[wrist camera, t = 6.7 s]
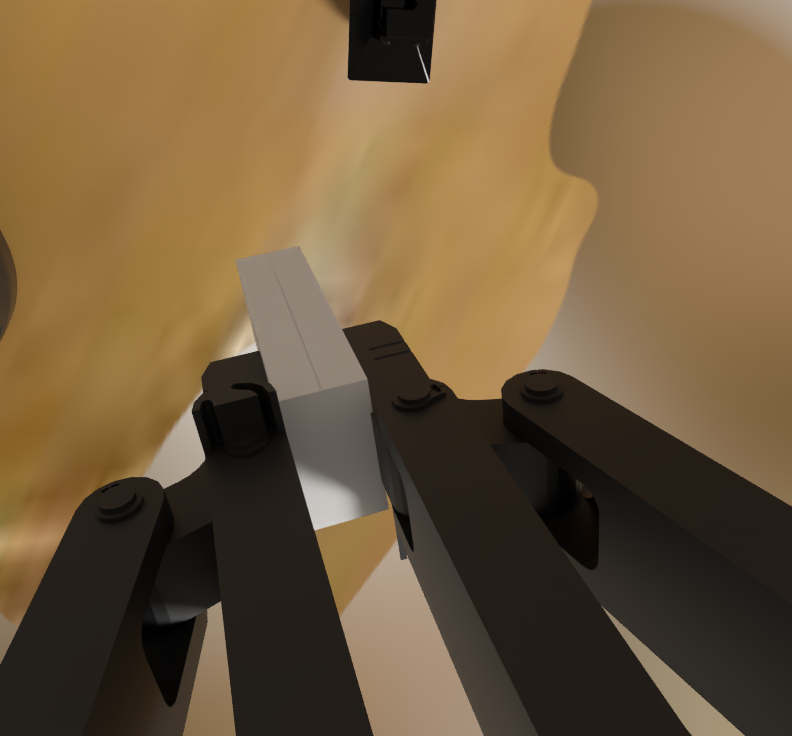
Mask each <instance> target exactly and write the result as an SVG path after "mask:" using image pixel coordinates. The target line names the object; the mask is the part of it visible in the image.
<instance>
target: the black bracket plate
mask: <svg viewBox="0 0 792 736" xmlns="http://www.w3.org/2000/svg"><path fill="white" fill-rule="evenodd" d="M435 10H436V0H350V21H349V54H348V79H349V80H359V81H382V82H406V83H428V82H429V80H430V69H431V57H432V46H433V34H434V22H435Z"/></svg>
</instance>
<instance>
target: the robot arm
mask: <svg viewBox="0 0 792 736" xmlns="http://www.w3.org/2000/svg"><path fill="white" fill-rule="evenodd" d="M236 264H237V268H238V272H239V276H240V280H241V284H242V288H243V292H244V296H245V301H246V305H247V309H248V313H249V317H250V321H251V325H252V329H253V333H254V337H255V341H256V345H257V349H258V351H256V352H252V353H248V354H244V355H239V356H235V357H231V358H227V359H222V360H218V361H214V362H210V364H209V365H208V367H207V369H206V370H205V372H204V374H203V375H202V377H201V378H202V387H203V394H202V395H201V396H200V397H199V398H198V399H197V400H196V401H195V402H194V405H193V408H192V414H193V418H194V421H195V424H196V427H197V430H198V433H199V437H200V440H201V443H202V447H203V450H204V453H205V461H204V462H203V463H202V465H201V466H200V467H199V468H198V469H197V470H196V471H194V472H193V473H192V474H191V475H190V476H188V477H186V478H184V479H182V480H181V481H179V482H178V483H175V484H173V485H171V486H169V487H167V488H165V489H163V488H162V486H161V485H160V484H159V482H158V481H155V480H153V479H150V478H147V477H130V478H126V479H122V480H117V481H114V482H112V483H109V484H107V485H105V486H103V487H101V488H99V489H97V490H96V491H95V492H93V493H92V494H91V495H89V496H88V497H87V498H85V499H84V500H83V502H82V503H81V504H80V506H79V507H78V508H77V510H76V511H75V513H74V515H73V517H72V519H71V521H70V523H69V525H68V527H67V530H66V532H65V534H64V536H63V538H62V540H61V542H60V544H59V546H58V548H57V550H56V552H55V554H54V556H53V558H52V560H51V562H50V564H49V566H48V568H47V570H46V572H45V574H44V577H43V579H42V581H41V583H40V585H39V587H38V589H37V591H36V593H35V595H34V597H33V599H32V601H31V603H30V605H29V607H28V609H27V611H26V613H25V615H24V617H23V619H22V621H21V624H20V626H19V628H18V630H17V632H16V634H15V636H14V638H13V640H12V642H11V644H10V646H9V648H8V650H7V652H6V654H5V656H4V659H3V660H2V663H1V664H0V736H183V732H184V727H185V722H186V718H187V713H188V708H189V704H190V699H191V695H192V690H193V686H194V681H195V677H196V672H197V668H198V663H199V658H200V654H201V649H202V645H203V640H204V636H205V631H206V627H207V622H208V621H207V609H208V608H210V607H211V606H213V605H215V604H216V603H218V602H220V601H221V604H222V613H223V622H224V631H225V640H226V649H227V658H228V667H229V676H230V685H231V694H232V704H233V713H234V721H235V731H236V736H373V733H372V729H371V726H370V722H369V719H368V715H367V712H366V708H365V705H364V701H363V698H362V694H361V691H360V688H359V684H358V680H357V677H356V673H355V670H354V667H353V663H352V660H351V656H350V653H349V649H348V646H347V642H346V639H345V635H344V632H343V629H342V625H341V622H340V618H339V614H338V611H337V608H336V604H335V601H334V597H333V594H332V590H331V587H330V583H329V580H328V576H327V573H326V569H325V566H324V562H323V559H322V555H321V552H320V549H319V545H318V542H317V538H316V535H315V531H314V530H317V529H321V528H324V527H328V526H331V525H335V524H338V523H342V522H345V521H349V520H352V519H356V518H359V517H363V516H366V515H370V514H373V513H377V512H380V511H384V510H387V509H389V508H388V502H387V496H386V492H387V494H388V496H389V499H390V501H391V503H392V507H393V514H394V520H395V526H396V532H397V539H398V545H399V551H400V558H401V560H403V559H407V555H408V558H409V560H410V563H411V565H412V567H413V569H414V572H415V574H416V577H417V579H418V581H419V584H420V586H421V588H422V591H423V593H424V596H425V598H426V600H427V603H428V605H429V607H430V610H431V612H432V614H433V617H434V619H435V621H436V624H437V626H438V629H439V631H440V633H441V636H442V638H443V640H444V643H445V645H446V647H447V650H448V652H449V654H450V657H451V659H452V661H453V664H454V666H455V669H456V671H457V673H458V676H459V678H460V680H461V683H462V685H463V688H464V690H465V692H466V695H467V697H468V699H469V702H470V704H471V706H472V709H473V711H474V713H475V716H476V718H477V720H478V723H479V725H480V728H481V730H482V732H483V735H484V736H692V735H691V734H690V733H689V732H688V730H687V729H686V728H685V727H684V725H683V724H682V722H681V721H680V719H679V718H678V717H677V715H676V714H675V712H674V711H673V709H672V708H671V706H670V705H669V703H668V702H667V701H666V699H665V698H664V696H663V695H662V694H661V692H660V690H659V689H658V687H657V686H656V685H655V683H654V682H653V680H652V679H651V678H650V676H649V675H648V673H647V672H646V671H645V669H644V667H643V666H642V664H641V663H640V661H639V660H638V659H637V657H636V656H635V654H634V653H633V652H632V650H631V648H630V647H629V646H628V644H627V643H626V641H625V640H624V638H623V637H622V635H621V634H620V632H619V631H618V630H617V628H616V627H615V625H614V624H613V622H612V621H611V619H610V618H609V617H608V615H607V614H606V613H605V611H604V609H603V608H602V606H603V607H604V608H605V609H606V610H607V611H608V612H609V613H610V614H611V615H612V616H614V617H615V618H616V619H617V620H618V621H619V622H620V623H621V624H623V626H625V627H626V628H627V629H628V630H629V631H630V632H631V633H632V634H633V635H634V636H636V637H637V638H638V639H639V640H640V641H641V642H642V643H643V644H645V646H647V647H648V648H649V649H650V650H651V651H652V652H653V653H654V654H655V655H657V656H658V657H659V658H660V659H661V660H662V661H663V662H665V664H666V665H668V666H669V667H670V668H671V669H672V670H673V671H674V672H675V673H676V674H678V675H679V676H680V677H681V678H682V679H683V680H684V681H685V682H686V683H688V684H689V685H690V686H691V687H692V688H693V689H694V690H695V691H696V692H697V693H698V694H700V695H701V696H702V697H703V698H704V699H705V700H706V701H707V702H708V703H710V704H711V705H712V706H713V707H714V708H715V709H716V710H718V712H720V713H721V714H722V715H723V716H724V717H725V718H726V719H727V720H728V721H729V722H731V723H732V724H733V725H734V726H735V727H736V728H737V729H738V730H739V731H740V732H742V733H743V734H744V735H745V736H792V506H790V505H788V504H787V503H785V502H783V501H782V500H780V499H778V498H776V497H775V496H773V495H772V494H770V493H768V492H766V491H765V490H763V489H761V488H760V487H758V486H756V485H755V484H753V483H751V482H749V481H748V480H746V479H744V478H743V477H741V476H739V475H738V474H736V473H734V472H733V471H731V470H729V469H727V468H726V467H724V466H722V465H721V464H719V463H717V462H716V461H714V460H712V459H711V458H709V457H707V456H705V455H704V454H702V453H700V452H699V451H697V450H695V449H694V448H692V447H690V446H689V445H687V444H685V443H684V442H682V441H680V440H679V439H677V438H675V437H674V436H672V435H670V434H669V433H667V432H665V431H663V430H662V429H660V428H658V427H657V426H655V425H653V424H652V423H650V422H648V421H647V420H645V419H643V418H642V417H640V416H638V415H636V414H635V413H633V412H631V411H630V410H628V409H626V408H625V407H623V406H621V405H620V404H618V403H616V402H615V401H613V400H611V399H609V398H608V397H606V396H604V395H603V394H601V393H599V392H598V391H596V390H594V389H592V388H591V387H589V386H587V385H586V384H584V383H582V382H581V381H579V380H577V379H576V378H574V377H572V376H570V375H567V374H565V373H562V372H559V371H552V370H543V369H542V370H531V371H527V372H524V373H520V374H517V375H515V376H513V377H512V378H510V379H509V380H507V381H506V382H505V384H504V385H503V387H502V388H501V393H502V399H490V400H464V399H458V398H457V397H456V395H455V394H454V392H453V391H452V390H451V389H450V388H449V387H448V386H447V385H445V384H444V383H442V382H439V381H436V380H433V379H430V378H429V377H428V375H427V374H426V372H425V371H424V369H423V368H422V366H421V365H420V363H419V362H418V360H417V359H416V357H415V356H414V354H413V353H412V352H411V350H410V348H409V347H408V345H407V344H406V342H404V339H403V338H402V336H401V335H400V333H399V332H398V330H397V329H396V328H395V327H393V326H391V325H389V324H387V323H384V322H382V321H380V320H379V321H374V322H370V323H366V324H362V325H358V326H353V327H349V328H345V329H341V327H340V325H339V323H338V321H337V319H336V317H335V315H334V313H333V311H332V309H331V307H330V305H329V303H328V301H327V299H326V297H325V295H324V294H323V292H322V290H321V288H320V286H319V284H318V282H317V280H316V278H315V276H314V274H313V272H312V270H311V268H310V266H309V264H308V262H307V260H306V258H305V257H304V255H303V253H302V251H301V249H300V247H299V246H298V247H293V248H288V249H284V250H279V251H274V252H270V253H265V254H260V255H256V256H251V257H246V258H242V259H237V260H236ZM16 296H17V278H16V270H15V265H14V261H13V258H12V255H11V252H10V249H9V247H8V245H7V242H6V240H5V238H4V236H3V235H2V233H1V231H0V341H1V340H2V338H3V336H4V334H5V331H6V329H7V327H8V325H9V322H10V320H11V317H12V315H13V311H14V308H15V303H16ZM385 489H386V490H385Z"/></svg>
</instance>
